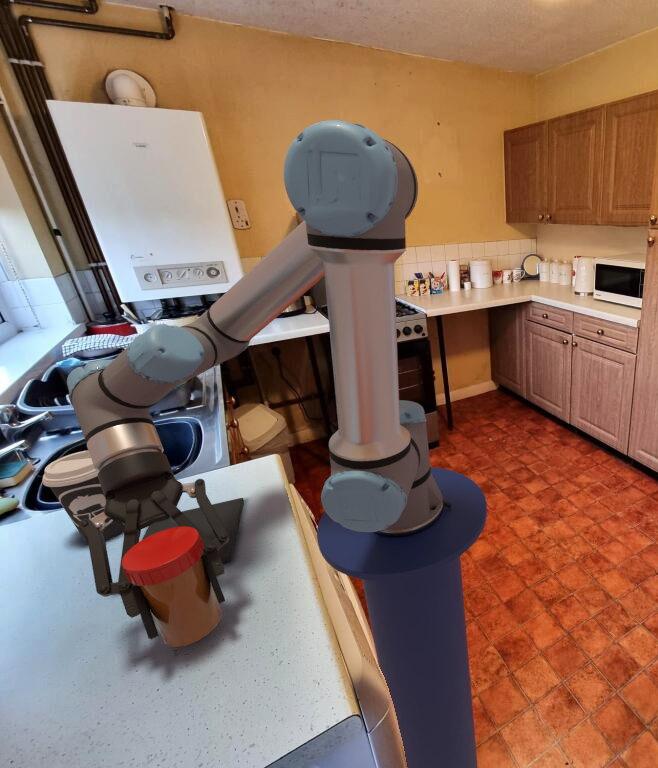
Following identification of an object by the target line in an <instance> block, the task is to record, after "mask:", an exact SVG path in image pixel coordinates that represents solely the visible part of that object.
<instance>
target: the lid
mask: <svg viewBox="0 0 658 768" xmlns="http://www.w3.org/2000/svg"><path fill="white" fill-rule="evenodd" d="M142 539H143V538H142ZM142 539H141V540H139V542H138V543H137V544H135V545H134V546H133V547H132V548H131V549H130V550H128V552H127V553H126V554H125V555H124V557H123V559H122V566H123V571H124V573H125V575H126V577H127V579H129V582H130V583H132V584H134V585H138V586H149V585H155V584H159V583H162V582H165V581H167V580H170V579H172V578H174V577H176V576H178V575H180V574H182V573H183V572H185V571H186V570H188V569H189V568H191V567H192V566H193V565H194V564H195V563H196V562H197V561H198V560H199V559H200V557H201V556H202V554H203V550H204V547H203V542H202V539H201V537H200V535H199V533H198V531H197V530H196V529H194V528H192V527H174V528H170V529H166V530H163V531H160V532H157V533H155V534H153V535H151V536H149V537H147V538H145V539H143V540H142Z"/></svg>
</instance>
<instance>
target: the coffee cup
mask: <svg viewBox="0 0 658 768" xmlns="http://www.w3.org/2000/svg"><path fill="white" fill-rule="evenodd" d="M98 473H99V471H97V470H95V467H94V465H93V462H92V459H91V456H90V453H89V450H88V449H87V450H83V451H78V452H74V453H71V454H70V453H69V454H67V455H65V456H62V457H60V458H57V459H55V460H54V461H52V462H50V463H49V464H48V465H47V466H45V468H44V474H43V475H42V484H43V486H45V487H48V488H50V490H51V491H52V493H53V494H54V496H55V497H56V500H57V501H58V502H59V504H60V505H61V506H62V508H63V509H64V511H65V513H66V514H67V516H68V517H69V519H70V521H71V522H72V523H73V525H74V527H75V528H76V530H77V531H78V532H79V534H80V536H81V537H82V539H83V540H84V541H85V542H87V543H88V538H87V536H86V535H85V534H84V532H83V531H82V530H81V529H80V527H79V526H78V525H79V522H80V521H81V520H83V519H91V518H93V517H95V516H97V515H98V514H100V513H102V512H104V508H105V505H106V499H105V496H104V494H103V491H102V488H101V485H100V482H99V479H98ZM106 526H107V528H106V530H105V531H104V532H102V534H103V536H104V539H105V541H106V540H110V539H112V538H113V537H115V536H117V535H119V534H121V533H122V532H124V526H125V525H123V524H121V523H118V522H116V521H114V520H112V519H109V520H108V521H107V522H106Z"/></svg>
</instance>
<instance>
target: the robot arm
mask: <svg viewBox="0 0 658 768" xmlns="http://www.w3.org/2000/svg"><path fill="white" fill-rule="evenodd" d="M283 182H284V187H285V193H286V195H287V198H288V199H289V202H290V204H291V206H292V207H293V209H294V211H296V213H298V215H299V216H300V217H301V218H302V220H303V221H302V222H301V223H299V224H298V226H296V227H295V228H294V229H293V230H292V231H291V232H290V233H289V234H288V235H286V236H285V237H284V238H283V239H282V240H281V241H280V242H279V243H278V244H277V245H275V246H274V247H273V248H272V249H271V250H270V251H269V252H268V253H267V254H266V255H265V256H264V257H263V258H262V259H260V261H258V263H256V264H255V265H254V266H253V267H252V268H250V270H249V271H248V272H246V273H245V274H244V275H243V276H242V277H241V278H239V280H238V281H236V283H234V285H232V286H231V287H230V288H229V289H228V290H227V291H226V292H225V293H224V294H222V295H221V296H220V297H219V298H218V299H217V300H216V301H215V302H214V303H213V304H211V306H210V307H209V308H208V309H207V310H205V312H203V313H202V314H201V315H200V316H199V317H198V318H196V320H194V321H192V322H190V323H187V324H184V325H181V326H179V325H176V324H175V325H168V324H167V323H160V324H156V325H155V324H154V325H152V326H151V327H149V328H148V329H147V330H146V331H144V332H143V333H141V334H138V335H136V337H135V338H133V340H132V341H131V342H130V343H129V345H128V346H127V347H126V348H125V349H124V350H123V351H121V353H119V355H117V356H116V357H115V358H114V359H102V360H101V359H100V360H95V361H89V362H87V363H86V364H85V365H83V366H78V367H75V368H74V369H73V370H71V372H70V373H69V374H68V376H67V378H66V385H67V389H68V392H69V394H68V395H69V401H70V405H71V406H72V408H73V411H74V414H75V416H76V419H77V421H78V424H79V428H80V429H81V432H82V435H83V438H84V441H85V442H86V448H87V450H89V453H90V456H91V459H92V462H93V465H94V467H95V470H97V471H99V473H98V479H99V482H100V485H101V488H102V491H103V494H104V496H105V499H106V505H105V508H104V512H102V513H100V514H98V515H97V516H95V517H93V518H91V519H83V520H81V521H80V522H79V525H78V526H79V527H80V529H81V530H82V531H83V532H84V534H85V535H86V536H87V538H88V542H87V543H88V549H89V556H90V560H91V567H92V573H93V578H94V584H95V591H96V593H97V594H98V595H100V596H102V597H104V598H106V597H109V596H115V595H116V596H117V595H120V598H121V601H122V605H123V607H124V609H125V610H124V611H125V612H126V615H127V616H128V617H129V618H131V619H133V618H135V617H137V616H140V619H141V621H142V623H143V626H144V630H145V632H146V636H147V638H148V639H149V640H153V639H155V638H157V637H159V636H160V635H159V632H158V629H157V628H158V627H157V624H156V622H155V619H154V617H153V615H152V613H151V611H150V608H149V606H148V604H147V602H146V600H145V597H144V595H143V593H142V591H141V589H140V586H138V585H137V586H134V584H132V583H130V582H129V579H127V577H126V575H125V573H124V571H123V566H122V559H123V557H124V555H125V554H126V553H127V552H128V550H130V549H131V548H132V547H133V546H134V545H135V544H137V543H138V542H140V538H141V534H142V533H141V532H142V530H143V529H147V528H148V527H149V526H150V525H152V524H153V523H156V522H161V521H164V520H167V519H170V520H171V521H172V522H173V523H174V524H176V525H177V526H178V527H192V528H194V529H196V530H197V531H198V533H199V535H200V537H201V539H202V542H203V547H204V550H203V551H204V552H205V553H206V555H203V556H201V558H202V561H203V564H204V566H205V569H206V572H207V574H208V577H209V580H210V582H211V585H212V588H213V590H214V593H215V596H216V598H217V601H218V604H219V605H221V604H222V603H224V602H226V598H225V595H224V593H223V590H222V588H221V584H220V583H219V579H218V577H220V576H222V575H224V574H225V566H224V563H222V561H221V558H220V556H219V553H218V551H219V549H220V548H221V547H222V546H223V545H224V544H226V543H228V541H229V535H228V533H227V531H226V529H225V527H224V525H223V524H222V522H221V520H220V518H219V517H218V515H217V513H216V511H215V509H214V508H213V506H212V504H213V503H212V502H211V500H210V499H209V496H207V486H206V481H205V480H204V479H203V478H197V479H196V480H195V481H193V482H187V483H181V481H179V480H177V478H176V477H175V475H174V473H173V470H172V467H171V465H170V462H169V459H168V456H167V455H166V454H165V453H164V451H165V450H164V447H163V444H162V442H161V439H160V436H159V433H158V431H157V429H156V426H155V422H154V421H153V417H152V415H151V411H150V409H151V408H152V407H154V406H155V405H156V404H158V403H159V402H160V401H161V400H162V399H163V398H164V397H165V396H168V394H169V393H171V392H172V391H173V390H174V389H176V388H178V387H179V386H180V385H182V384H184V383H185V382H188V381H190V380H192V379H194V378H196V377H197V376H199V375H202V374H204V373H205V372H207V371H209V370H210V369H212V368H214V367H216V366H218V365H220V364H223V363H224V362H226V361H228V360H231V359H234V358H236V357H237V356H239V355H240V354H241V353H243V352H244V351H245V350H247V348H248V347H249V346H250V343H251V340H252V339H253V338H255V336H257V335H258V334H259V333H260V332H261V331H263V330H264V329H265V328H266V327H267V326H268V325H270V324H271V323H272V322H273V321H274V320H275V319H276V318H278V317H279V316H280V315H281V314H282V313H284V312H285V311H286V310H287V309H288V308H289V307H291V306H292V305H293V304H294V303H295V302H296V301H297V300H299V299H300V298H301V297H302V296H304V295H305V294H306V293H307V292H308V291H309V290H310V289H312V287H314V286H315V285H316V284H317V283H318V282H320V281H321V280H322V279H324V284H325V294H326V295H325V296H326V305H327V317H328V327H329V328H328V329H329V338H330V339H329V340H330V349H331V350H330V351H331V361H332V370H333V371H332V372H333V383H334V395H335V405H336V414H337V415H336V416H337V427H338V429H337V430H336V431H335V432H334V433H332V435H331V436H330V438H329V441H328V451H329V461H330V476H329V477H328V478H327V480H325V482H324V485H323V487H322V490H321V494H320V499H321V505H322V508H323V510H324V512H326V513H327V514H328V516H329V517H330V518H331V519H332V520H334V521H335V522H338V523H340V524H341V525H342V526H343V527H345V528H347V529H350V530H354V531H358V532H373V533H375V534H377V535H380V536H384V537H391V538H398V537H406V536H411V535H414V534H417V533H420V532H422V531H424V530H426V529H428V528H429V527H431V526H432V525H433V524H435V523H436V522H437V521H438V519H439V518H440V517H441V515H442V513H443V509H444V506H446V507H448V508H451V505H452V504H450V503H447V502H445V501H443V496H442V494H441V491H440V490H439V488H438V486H437V484H436V482H435V480H434V478H433V476H432V474H431V469H430V467H431V460H430V459H431V458H430V449H429V441H428V440H429V439H428V429H427V418H426V413H425V409H424V407H423V405H421V404H419V403H418V402H415V401H412V400H403V399H402V400H401V399H400V391H399V390H400V389H399V361H398V335H397V334H398V332H397V330H398V329H397V306H396V305H397V303H396V277H395V264H396V262H397V260H398V259H399V258H401V257H402V255H403V254H404V253H405V252H406V251H407V240H406V239H407V237H406V220H407V219H408V218H409V217H410V216H411V214H412V213H413V210H414V209H415V208H416V205H417V201H418V195H419V182H418V175H417V173H416V170H415V168H414V166H413V164H412V162H411V161H410V158H409V157H408V156H407V154H406V153H405V152H404V151H403V150H401V149H400V147H398V146H397V145H396V144H394V143H392V142H390V141H389V140H387V139H384V138H382V137H381V136H380V135H379V134H377V133H376V132H374V131H373V130H372V129H370V128H368V127H366V126H364V125H362V124H359V123H352V122H350V121H345V120H339V119H328V120H322V121H318V122H316V123H313V124H311V125H309V126H307V127H306V128H304V129H303V130H302V131H301V132H300V133H299V134H298V135H297V137H296V138H294V140H292V142H291V144H290V146H289V147H288V150H287V152H286V155H285V159H284V164H283ZM183 494H187V495H188V497H189V498H191V499H195V500H196V503H197V505H198V508H199V507H200V509H201V511H202V512H203V514H204V516H205V518H206V520H207V521H208V523H209V525H210V527H211V529H212V530H213V532H214V534H215V536H216V538H215V539H214V540H213V541H211V540H210V539H209V538H208V537H207V536H206V535H205V534H204V533H203V532H202V531H201V530H200V529H199V528H197V527H196V526H195V525H194V524H193V523H192V522H191V521H190V520H189V519H188V518H187V517H186V516H185V515H184V514H183V513H182V511H181V510H180V508H178V504H179V502H180V500H181V499H182V496H183ZM109 519H112V520H114V521H116V522H118V523H121V524H123V525H125V526H124V531H123V540H122V541H123V542H122V547H121V548H122V549H121V556H120V563H119V572H118V579H117V581H116V582H114V581H113V576H112V571H111V566H110V560H109V554H108V549H107V544H106V540H105V539H104V536H103V534H102V532H104V531H105V530H106V528H107V526H106V522H107V521H108V520H109Z"/></svg>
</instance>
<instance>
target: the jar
mask: <svg viewBox="0 0 658 768" xmlns="http://www.w3.org/2000/svg"><path fill="white" fill-rule="evenodd" d="M140 589H141V591H142V593H143V595H144V597H145V600H146V602H147V604H148V606H149V608H150V611H151V614H152V617H153V620H154V622H155V625H156V627H157V628H158V630H159V633H160V635H161V637H162V639H163V641H164V644H165V645H167V646H168V647H172V648H181V647H186V646H190V645H192V644H194V643H196V642H198V641H200V640H201V639H203V638H204V637H206V636H207V635H209V634H210V633H211V632H213V630H214V629H215V628H216V627H217V626H218V624H219V622H220V620H221V619H222V609H221V606H220V604H219V603H218V600H217V598H216V595H215V593H214V590H213V587H212V585H211V582H210V580H209V577H208V574H207V572H206V569H205V566H204V564H203V561H202V558H201V557H200V559H199V560H198V561H197V562H196V563H195V564H194V565H193V566H192V567H191V568H189V569H188V570H186V571H185V572H183V573H182V574H180V575H178V576H176V577H174V578H172V579H170V580H167V581H165V582H162V583H159V584H155V585H149V586H140Z"/></svg>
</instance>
